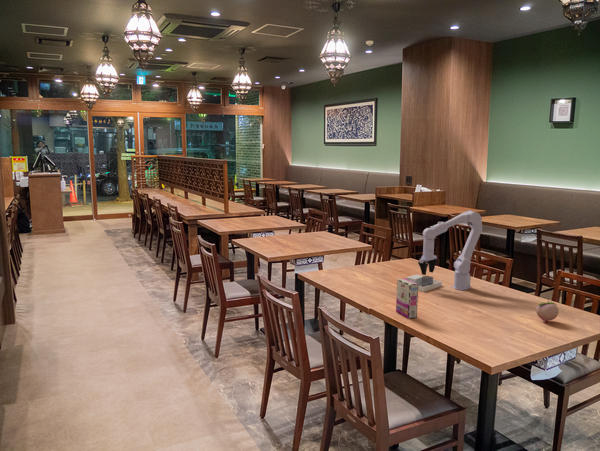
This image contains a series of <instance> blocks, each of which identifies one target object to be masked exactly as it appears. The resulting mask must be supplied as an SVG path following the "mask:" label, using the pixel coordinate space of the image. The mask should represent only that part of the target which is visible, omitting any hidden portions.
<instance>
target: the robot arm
mask: <svg viewBox="0 0 600 451" xmlns="http://www.w3.org/2000/svg"><path fill="white" fill-rule="evenodd" d="M482 220H483V217H482V216H481V214H480V213H479V212H477V211H473V210H470V209H469V210H466V211H464V212H463V211H462V212H461V213H459V214H458V215H456V216H455V217H452V218H451V219H449V220H447V221H438V222H437V224H434V225H431V226H429V227H426V228H425V229H424V230H423V231H422V236H423V243H422V244H423V247H422V248H423V249H422V255H421V256H420V257H421V258H419V260H418V262H417V264H418V266H419V268H420V271H421V275H422V276H427V275H426V274H427V271H428V272H429V273H432V274H433V273H434V272H435V271H434V270H435V268H436V265H437V263H438V262H439V261H438V259H437V258H438V257H437V255H435V254H434V253H435V252H434V249H435V238H436V237H437V236H439V235H441V234H443V233H446V232H447V231H448V230H449V228H450V227H453V226H456V225H457V224H460V223H468V224H469V226H470V228H471V230H470V232H469V235H468V237H467V239H466V242H465V245H464V247H463V248H462V251H461V254H460V255H458V257H457V259H456V260H455V261H453V268H454V269H455V270H454V276H453V277H454V280H453V281H454V282H453V283H454V284H453V285H452V286H450V288H452V289H455V290H457V291H458V290H460V291H462V292H463V291H466V290H469V289H472V286H471V279H472V278H471V273H469V272H470V270H471V263H472V262H471V261H472V260H471V258H472V256H473V253H474V250H475V248H476V245H477V243H478V241H479V239H480V236H481V234H482V231H483V223H482ZM427 269H428V270H427Z"/></svg>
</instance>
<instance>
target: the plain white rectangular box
mask: <svg viewBox="0 0 600 451" xmlns="http://www.w3.org/2000/svg"><path fill="white" fill-rule="evenodd" d="M423 276H424V275H422V274H421V275H420V274H412V275H410V276H406V277H405V279H408V280H410V281H412V282H415V283H417V284H418V286H420V285H421V284H422V277H423Z"/></svg>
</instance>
